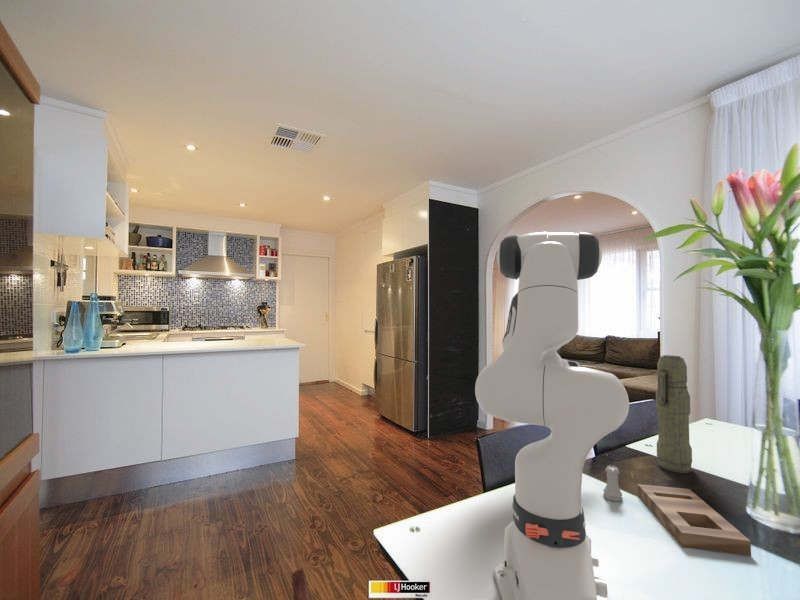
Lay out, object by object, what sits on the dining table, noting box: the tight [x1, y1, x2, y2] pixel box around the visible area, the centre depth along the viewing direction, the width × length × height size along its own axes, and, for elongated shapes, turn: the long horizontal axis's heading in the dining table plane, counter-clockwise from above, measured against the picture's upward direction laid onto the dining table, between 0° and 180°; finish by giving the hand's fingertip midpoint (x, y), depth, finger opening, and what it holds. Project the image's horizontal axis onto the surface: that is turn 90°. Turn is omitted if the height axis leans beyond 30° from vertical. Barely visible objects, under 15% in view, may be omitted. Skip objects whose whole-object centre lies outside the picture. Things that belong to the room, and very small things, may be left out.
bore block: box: [637, 483, 752, 557], centre depth 84 cm, size 22×12×3 cm, turn 167°
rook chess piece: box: [602, 464, 623, 503], centre depth 95 cm, size 4×4×8 cm
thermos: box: [655, 354, 693, 474], centre depth 115 cm, size 9×12×35 cm
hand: (575, 412), depth 108 cm, fingers open, 8 cm apart
